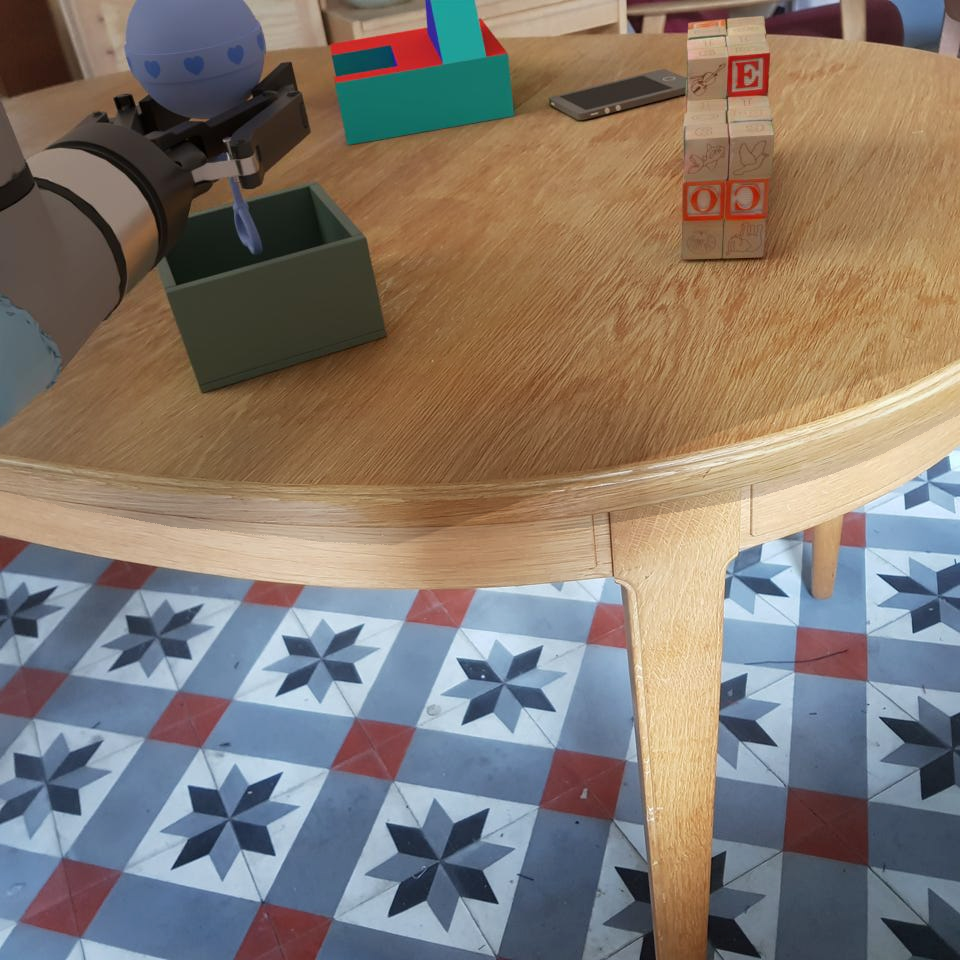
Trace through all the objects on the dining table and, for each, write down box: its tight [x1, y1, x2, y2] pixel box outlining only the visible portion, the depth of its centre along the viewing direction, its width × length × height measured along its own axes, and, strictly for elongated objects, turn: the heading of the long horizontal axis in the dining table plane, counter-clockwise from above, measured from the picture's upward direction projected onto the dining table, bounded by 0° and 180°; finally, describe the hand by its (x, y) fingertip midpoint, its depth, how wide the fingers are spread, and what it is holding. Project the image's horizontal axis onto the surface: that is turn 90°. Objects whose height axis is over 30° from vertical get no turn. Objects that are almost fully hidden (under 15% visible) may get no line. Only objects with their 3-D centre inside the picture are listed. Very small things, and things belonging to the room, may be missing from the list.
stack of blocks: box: [681, 15, 775, 260], centre depth 75 cm, size 21×6×12 cm, turn 169°
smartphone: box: [548, 68, 687, 121], centre depth 105 cm, size 15×8×1 cm, turn 111°
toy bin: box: [155, 180, 388, 394], centre depth 70 cm, size 14×14×8 cm
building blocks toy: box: [329, 0, 515, 146], centre depth 110 cm, size 19×25×18 cm
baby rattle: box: [123, 0, 267, 255], centre depth 63 cm, size 9×9×18 cm
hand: (238, 88), depth 66 cm, fingers closed on baby rattle, 7 cm apart
